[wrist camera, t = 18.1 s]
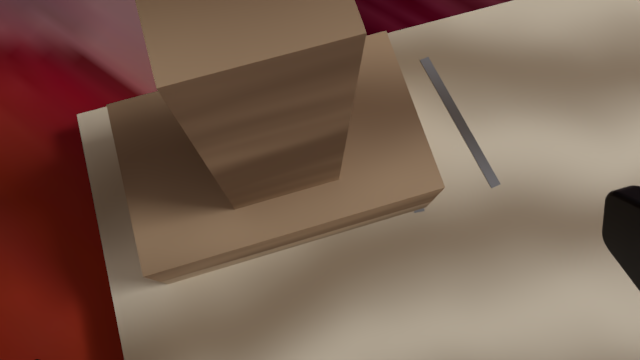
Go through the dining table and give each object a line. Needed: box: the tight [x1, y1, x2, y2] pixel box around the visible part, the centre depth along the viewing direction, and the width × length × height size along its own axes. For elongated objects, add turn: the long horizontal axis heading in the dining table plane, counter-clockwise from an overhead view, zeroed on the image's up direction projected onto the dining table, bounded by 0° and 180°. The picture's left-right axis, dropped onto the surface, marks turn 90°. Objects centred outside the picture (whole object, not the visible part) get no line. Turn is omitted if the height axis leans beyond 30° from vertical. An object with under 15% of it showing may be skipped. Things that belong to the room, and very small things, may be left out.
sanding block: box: [106, 0, 445, 284], centre depth 15 cm, size 6×10×12 cm, turn 107°
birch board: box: [77, 0, 640, 360], centre depth 21 cm, size 19×26×2 cm
